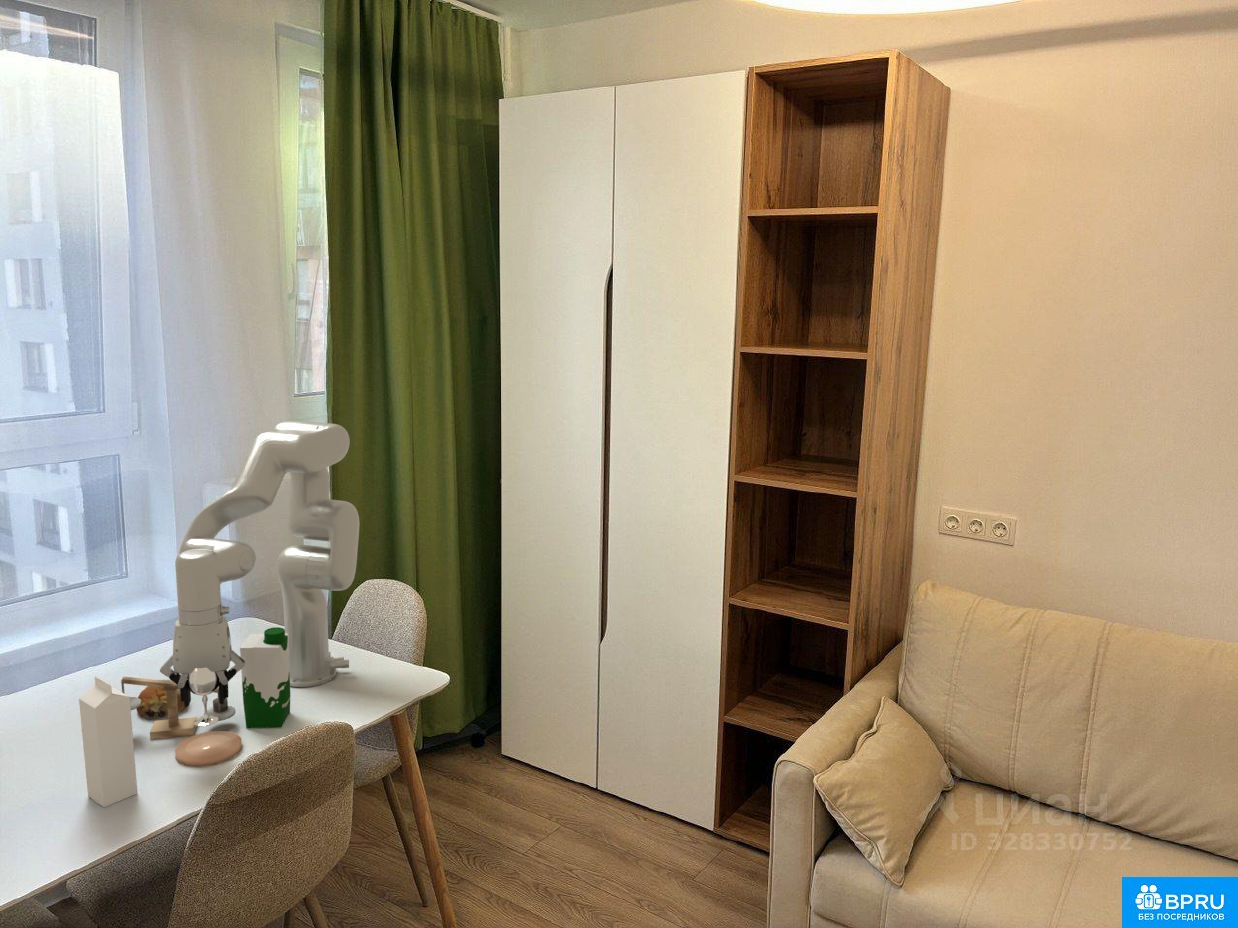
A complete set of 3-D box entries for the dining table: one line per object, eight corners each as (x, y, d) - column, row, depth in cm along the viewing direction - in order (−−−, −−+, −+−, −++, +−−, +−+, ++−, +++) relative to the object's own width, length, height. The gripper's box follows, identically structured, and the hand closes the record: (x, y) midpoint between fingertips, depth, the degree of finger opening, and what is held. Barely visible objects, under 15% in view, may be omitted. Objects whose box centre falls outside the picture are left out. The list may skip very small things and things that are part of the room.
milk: (121, 782, 172) (112, 670, 168) (138, 793, 169) (129, 679, 164) (86, 796, 167) (76, 681, 163) (103, 808, 164) (93, 690, 160)
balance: (237, 718, 197) (234, 663, 195) (234, 732, 192) (230, 675, 189) (114, 730, 191) (109, 672, 189) (106, 744, 185) (101, 685, 183)
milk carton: (284, 729, 193) (280, 638, 189) (239, 730, 192) (234, 639, 188) (295, 710, 202) (291, 622, 198) (252, 711, 201) (247, 623, 197)
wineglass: (227, 715, 185) (224, 658, 183) (212, 729, 179) (209, 670, 177) (200, 713, 185) (196, 656, 183) (184, 726, 180) (180, 668, 178)
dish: (245, 733, 191) (244, 727, 191) (238, 762, 180) (237, 756, 180) (181, 739, 188) (181, 733, 188) (170, 769, 177) (169, 763, 177)
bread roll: (193, 721, 203) (203, 684, 205) (158, 721, 194) (169, 682, 195) (157, 713, 206) (167, 677, 208) (121, 713, 197) (132, 674, 199)
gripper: (250, 605, 184) (254, 690, 188) (154, 610, 180) (160, 698, 183) (246, 618, 177) (250, 707, 180) (146, 624, 173) (152, 715, 176)
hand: (205, 701), depth 182 cm, fingers closed on wineglass, 5 cm apart
